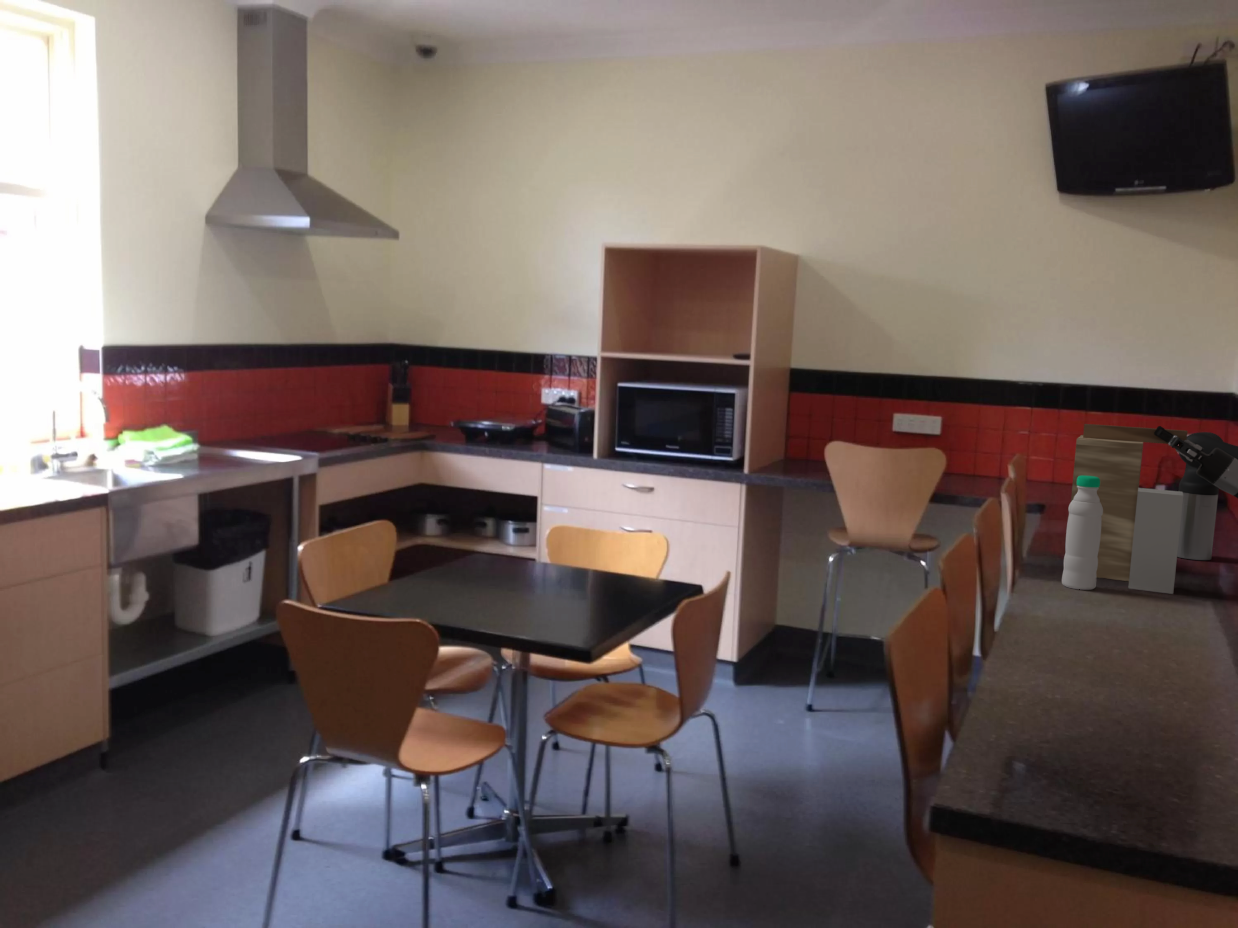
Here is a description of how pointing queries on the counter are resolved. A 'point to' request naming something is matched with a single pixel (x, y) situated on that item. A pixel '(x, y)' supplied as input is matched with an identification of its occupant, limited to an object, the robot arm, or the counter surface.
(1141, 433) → the batten
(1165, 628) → the counter surface
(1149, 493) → the riser block
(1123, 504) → the wooden open box
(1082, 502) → the white bottle
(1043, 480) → the counter surface
